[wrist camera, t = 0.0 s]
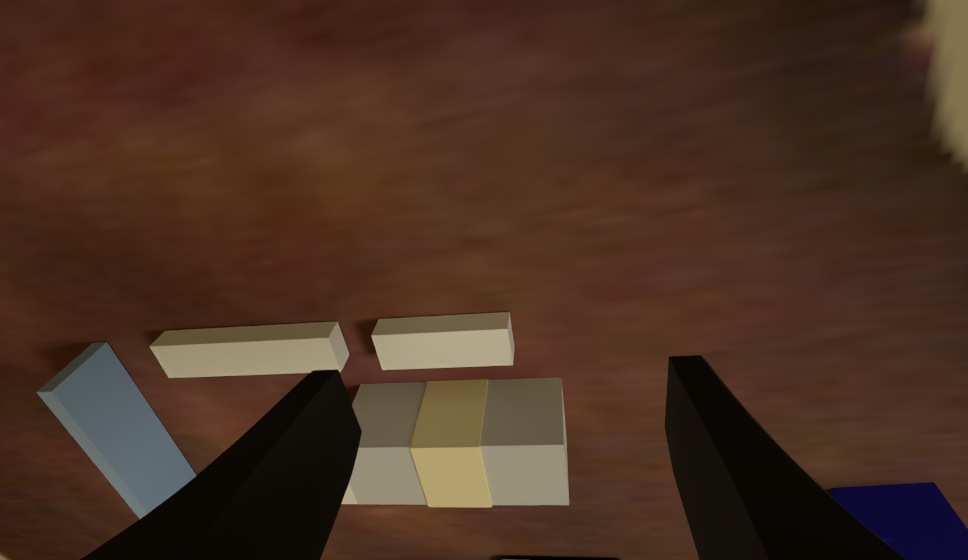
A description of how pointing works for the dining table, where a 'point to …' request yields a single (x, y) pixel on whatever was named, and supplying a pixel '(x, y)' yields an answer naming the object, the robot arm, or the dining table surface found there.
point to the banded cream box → (462, 443)
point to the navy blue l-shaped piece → (909, 519)
